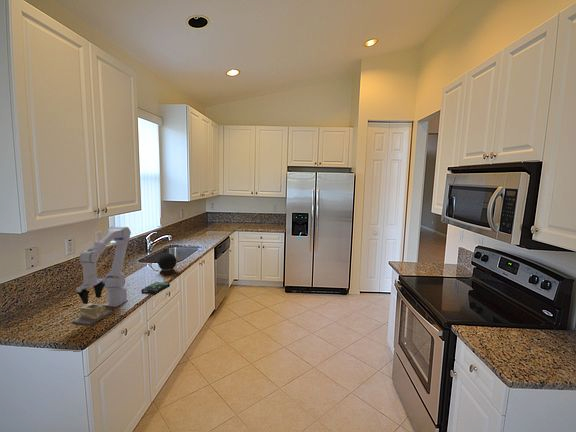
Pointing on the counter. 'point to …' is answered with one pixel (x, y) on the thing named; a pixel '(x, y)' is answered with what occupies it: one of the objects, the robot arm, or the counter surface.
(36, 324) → the counter surface
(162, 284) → the disk drive
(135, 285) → the counter surface
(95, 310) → the hollow block
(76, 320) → the pin board
